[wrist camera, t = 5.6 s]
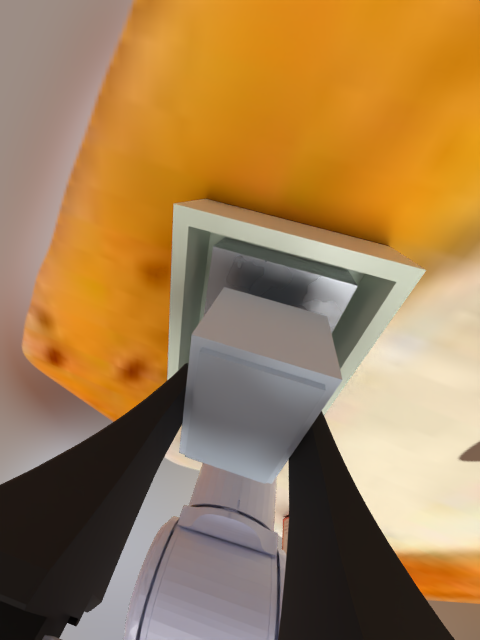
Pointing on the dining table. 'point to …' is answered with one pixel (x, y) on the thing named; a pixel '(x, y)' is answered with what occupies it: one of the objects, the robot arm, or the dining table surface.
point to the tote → (294, 239)
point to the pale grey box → (255, 383)
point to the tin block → (279, 279)
